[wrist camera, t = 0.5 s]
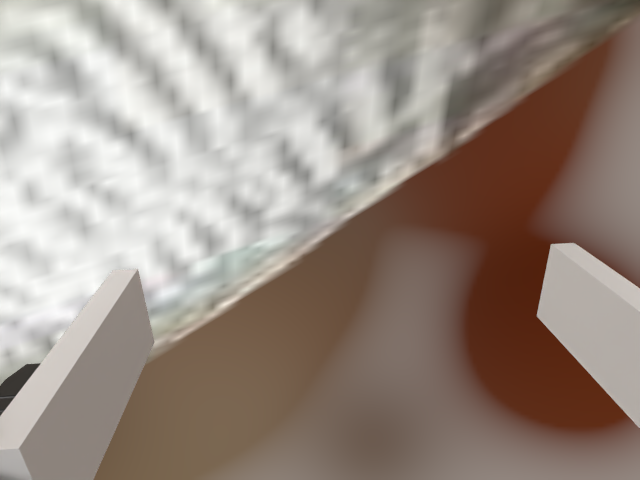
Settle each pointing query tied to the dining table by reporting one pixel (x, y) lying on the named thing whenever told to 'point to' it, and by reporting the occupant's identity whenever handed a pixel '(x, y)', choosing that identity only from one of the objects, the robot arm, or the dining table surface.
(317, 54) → the dining table surface
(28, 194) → the dining table surface
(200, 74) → the dining table surface
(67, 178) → the dining table surface
